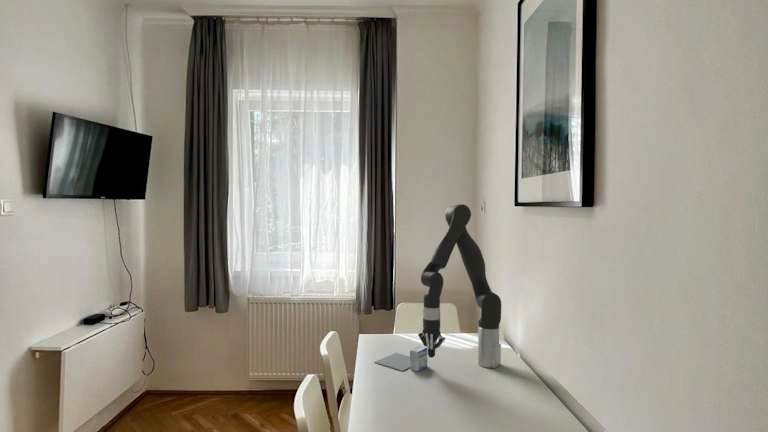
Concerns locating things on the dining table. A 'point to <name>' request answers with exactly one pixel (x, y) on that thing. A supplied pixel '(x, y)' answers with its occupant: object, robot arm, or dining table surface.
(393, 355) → the rubber mat
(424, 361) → the medicine box
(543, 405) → the dining table surface
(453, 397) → the dining table surface
